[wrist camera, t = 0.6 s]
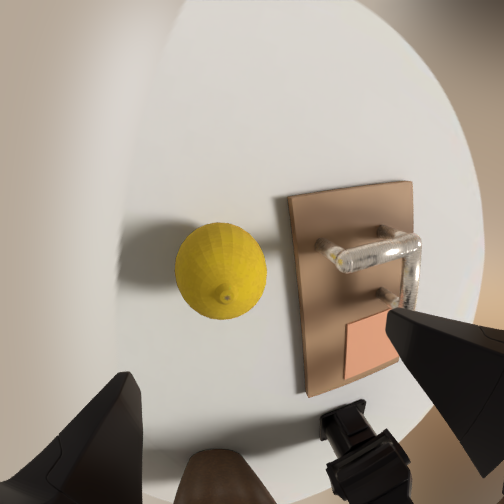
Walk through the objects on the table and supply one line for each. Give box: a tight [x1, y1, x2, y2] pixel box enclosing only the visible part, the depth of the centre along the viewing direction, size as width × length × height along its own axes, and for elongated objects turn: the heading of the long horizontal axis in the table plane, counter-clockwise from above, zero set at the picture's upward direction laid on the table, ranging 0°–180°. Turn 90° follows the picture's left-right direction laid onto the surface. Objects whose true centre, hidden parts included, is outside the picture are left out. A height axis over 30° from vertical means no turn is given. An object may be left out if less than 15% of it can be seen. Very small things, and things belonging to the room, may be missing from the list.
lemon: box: [175, 223, 267, 320], centre depth 17 cm, size 6×6×8 cm
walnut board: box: [287, 181, 413, 398], centre depth 24 cm, size 21×12×1 cm, turn 9°
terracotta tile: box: [344, 308, 399, 380], centre depth 25 cm, size 8×8×1 cm
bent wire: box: [315, 225, 422, 311], centre depth 20 cm, size 8×8×5 cm
